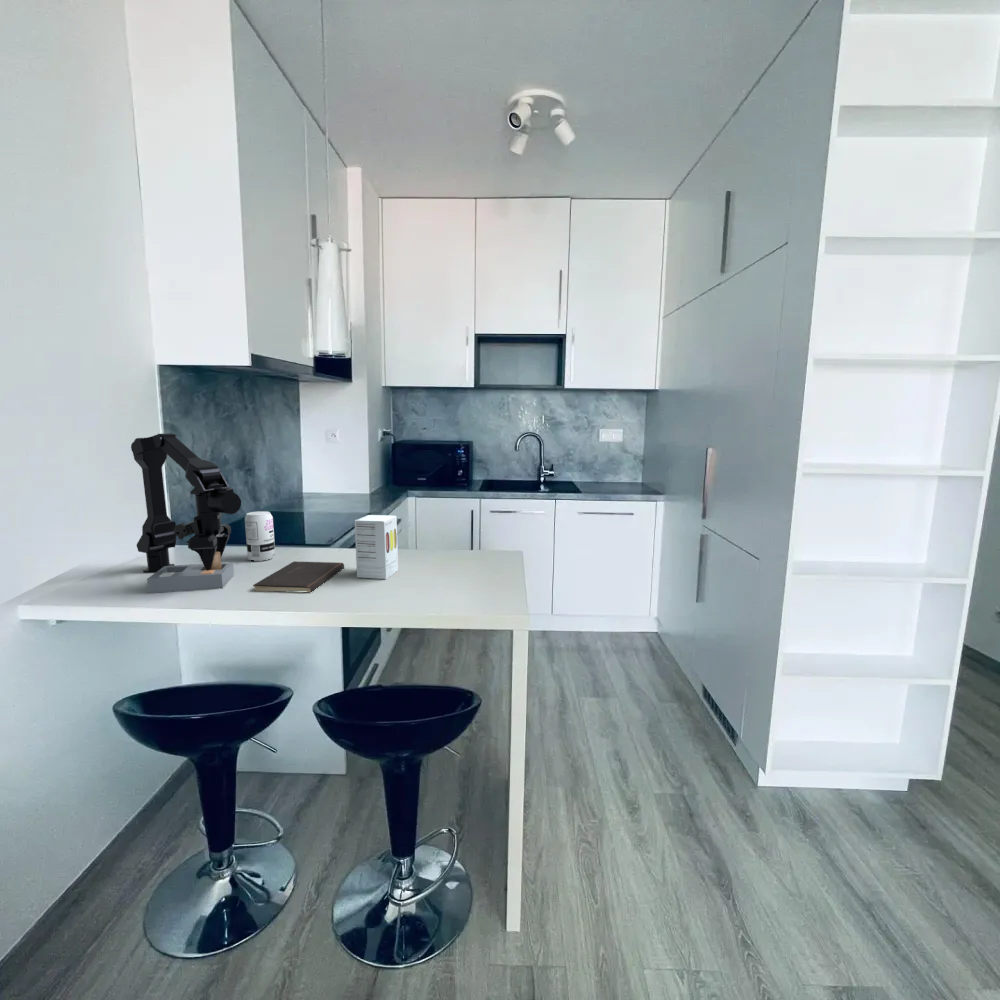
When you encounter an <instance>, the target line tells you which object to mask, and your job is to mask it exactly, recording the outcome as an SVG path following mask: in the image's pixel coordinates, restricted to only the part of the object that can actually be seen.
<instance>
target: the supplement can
mask: <svg viewBox="0 0 1000 1000" xmlns="http://www.w3.org/2000/svg"><path fill="white" fill-rule="evenodd" d="M244 526H245V527H244V528H245V538H246V539H245V541H246V551H247V552H246V553H247V559H248V560H249V561H251V560H254V561H253V562H262V561H261V560H267V561H269V560H268V559H270V560H272V559H271V558H273V557H275V556H276V545H275V542H276V541H275V530H274V517H273V515H272V514H271V512H270V511H266V510H264V511H263V510H259V511H251V512H246V515H245V517H244ZM273 559H274V558H273Z"/></svg>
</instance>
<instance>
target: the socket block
mask: <svg viewBox="0 0 1000 1000" xmlns="http://www.w3.org/2000/svg"><path fill="white" fill-rule="evenodd" d="M221 566H222V569H221V570H206V569H205V567H204V565H203V563H196V564H195V563H193V564H192V563H191V564H179V565H176V564H174V566H164V567H163V568H161V569H160V570H158V571H157V572H153V574H151V575H149V576H148V577H147V578H146V580H147V589H148V594H156V593H158V594H159V593H170V592H171V593H173V592H188V591H190V592H191V591H201V590H217V589H219V588H220V589H224V588H225V587H226V585H227V584H229V582H230V581H231V580H232V579H231V578H234V576H235V569H234V568H235V567H234V562H233V561H231V562H221ZM233 575H234V576H233ZM230 579H231V580H230ZM229 580H230V581H229ZM228 581H229V582H228ZM223 587H224V588H223Z"/></svg>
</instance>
